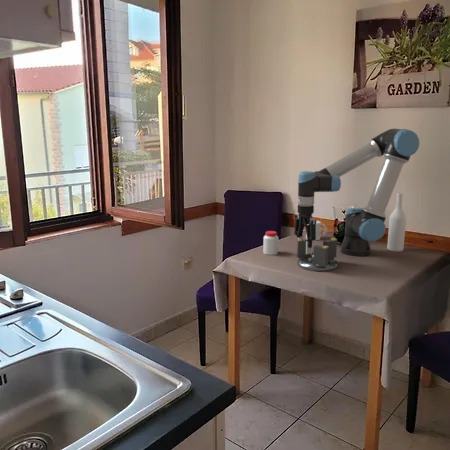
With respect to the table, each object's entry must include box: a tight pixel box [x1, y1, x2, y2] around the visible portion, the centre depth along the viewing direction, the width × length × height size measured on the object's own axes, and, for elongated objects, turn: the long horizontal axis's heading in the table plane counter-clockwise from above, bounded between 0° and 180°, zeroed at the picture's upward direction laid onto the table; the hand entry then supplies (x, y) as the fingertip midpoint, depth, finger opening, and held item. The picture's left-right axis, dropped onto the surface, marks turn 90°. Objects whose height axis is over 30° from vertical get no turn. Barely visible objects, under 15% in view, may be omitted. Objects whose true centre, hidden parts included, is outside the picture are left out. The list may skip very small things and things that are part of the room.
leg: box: [313, 244, 329, 268], centre depth 209 cm, size 6×4×10 cm
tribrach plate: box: [297, 251, 339, 272], centre depth 216 cm, size 19×19×7 cm
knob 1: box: [296, 239, 312, 260], centre depth 219 cm, size 6×4×10 cm
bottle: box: [386, 192, 407, 252], centre depth 237 cm, size 8×8×30 cm
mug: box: [305, 220, 328, 241], centre depth 261 cm, size 12×9×10 cm
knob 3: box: [322, 237, 338, 260], centre depth 219 cm, size 6×4×10 cm
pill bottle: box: [262, 230, 279, 256], centre depth 235 cm, size 8×8×11 cm
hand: (304, 251), depth 219 cm, fingers open, 6 cm apart
